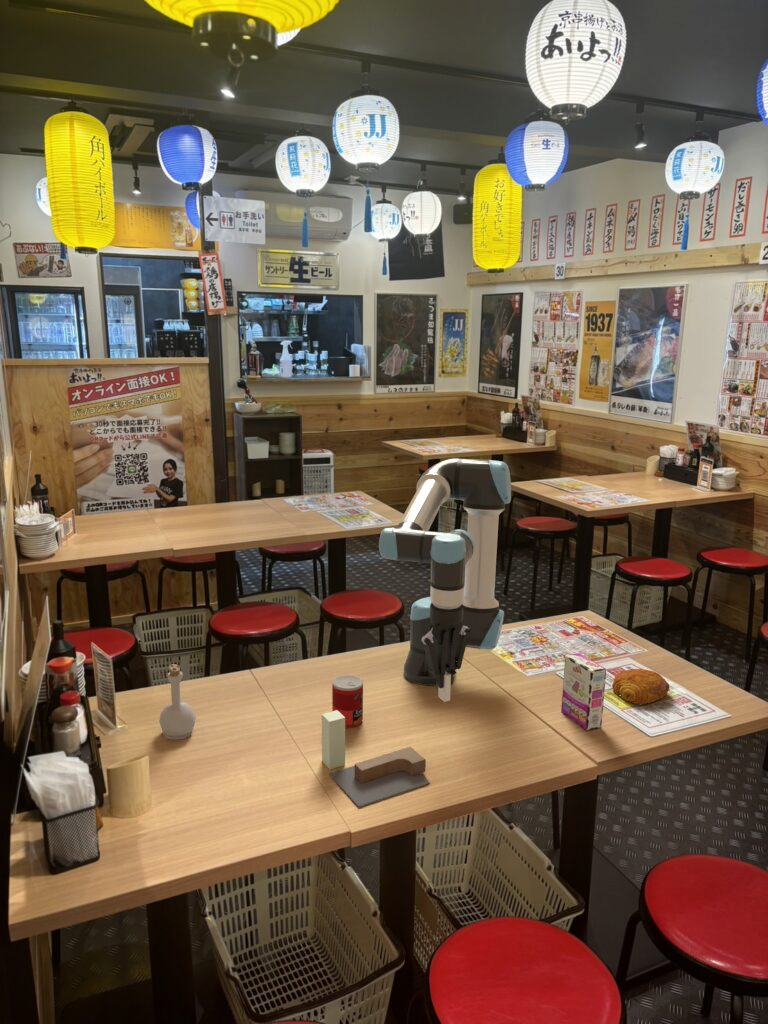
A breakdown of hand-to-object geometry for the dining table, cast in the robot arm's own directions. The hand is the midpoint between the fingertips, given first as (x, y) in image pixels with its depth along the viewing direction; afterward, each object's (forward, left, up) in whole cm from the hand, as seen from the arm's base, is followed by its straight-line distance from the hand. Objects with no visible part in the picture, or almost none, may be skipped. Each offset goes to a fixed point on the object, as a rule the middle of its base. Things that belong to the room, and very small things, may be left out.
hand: (444, 698), depth 170 cm
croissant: (-68, -1, -16) cm, 70 cm away
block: (+23, -11, -15) cm, 30 cm away
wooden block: (+7, 0, -13) cm, 15 cm away
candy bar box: (-43, +2, -16) cm, 45 cm away
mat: (+17, 0, -15) cm, 23 cm away
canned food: (+11, -27, -16) cm, 33 cm away
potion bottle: (+51, -42, -16) cm, 68 cm away
